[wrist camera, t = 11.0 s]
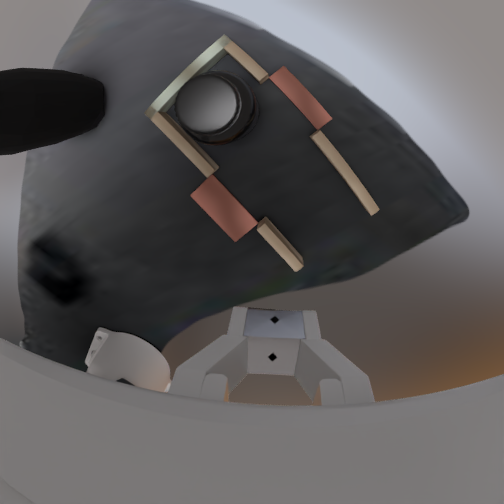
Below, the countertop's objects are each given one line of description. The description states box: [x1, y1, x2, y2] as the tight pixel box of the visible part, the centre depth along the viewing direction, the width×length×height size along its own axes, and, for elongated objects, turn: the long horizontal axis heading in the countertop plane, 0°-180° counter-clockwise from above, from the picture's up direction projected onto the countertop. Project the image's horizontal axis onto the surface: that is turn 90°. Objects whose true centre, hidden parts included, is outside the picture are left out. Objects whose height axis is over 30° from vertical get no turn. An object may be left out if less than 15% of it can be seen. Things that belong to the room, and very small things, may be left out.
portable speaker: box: [0, 68, 104, 155], centre depth 20 cm, size 9×9×20 cm
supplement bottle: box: [175, 70, 259, 145], centre depth 23 cm, size 7×7×12 cm
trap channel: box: [145, 35, 380, 272], centre depth 29 cm, size 18×26×2 cm
